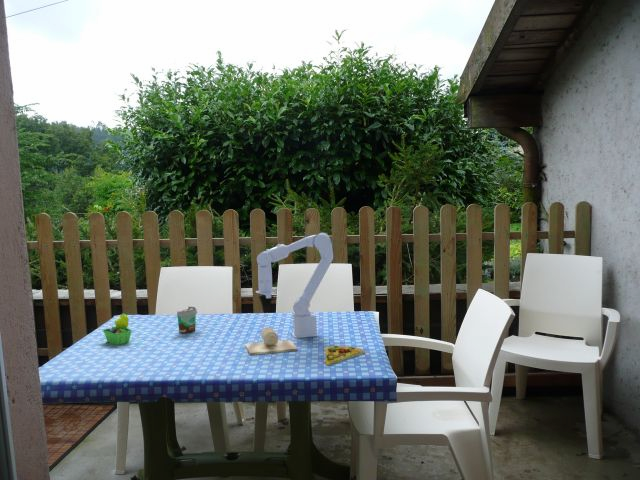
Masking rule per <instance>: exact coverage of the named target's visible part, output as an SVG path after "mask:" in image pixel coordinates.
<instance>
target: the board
mask: <svg viewBox="0 0 640 480" xmlns="http://www.w3.org/2000/svg"><path fill="white" fill-rule="evenodd" d="M244 346H245V348H246V350H247V352H248V355H249V356H255V355H256V356H257V355H264V354H265V355H266V354H267V355H268V354H275V353H285V352H286V353H287V352H295V351H296V352H297V351H298V347H297V346H296V345H295V344H294V342H292V340H291V339H288V340H287V339H285V340H278V342H277V343H276V344H275V345H273V346H268V345H267V344H266V343H265V342H264V341H262V342H252V343H245V345H244Z"/></svg>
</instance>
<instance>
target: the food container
mask: <svg viewBox="0 0 640 480" xmlns="http://www.w3.org/2000/svg"><path fill="white" fill-rule="evenodd" d="M197 314H198V309H197V308H196V307H195V306H190V305H189V306H188V308H187V309H183V310H181V311H177V313H176V317H177V323H178V334H179V335H182V334H183V335H185V334H190V333H191V334H192V333H194V332H196V325H197V324H196V323H197V322H196V319H197Z"/></svg>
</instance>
